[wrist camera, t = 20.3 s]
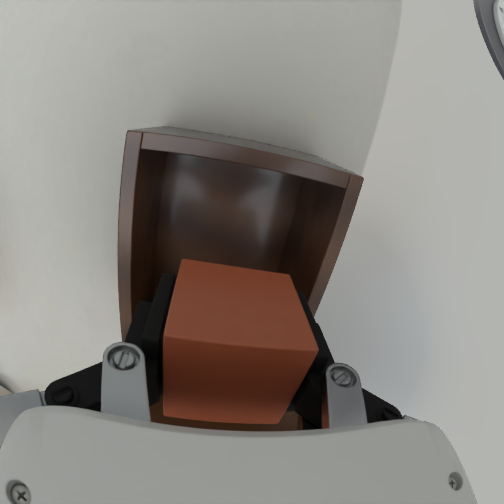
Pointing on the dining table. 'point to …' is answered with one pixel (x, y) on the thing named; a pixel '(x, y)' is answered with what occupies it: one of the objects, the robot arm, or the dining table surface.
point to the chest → (227, 211)
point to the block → (234, 345)
